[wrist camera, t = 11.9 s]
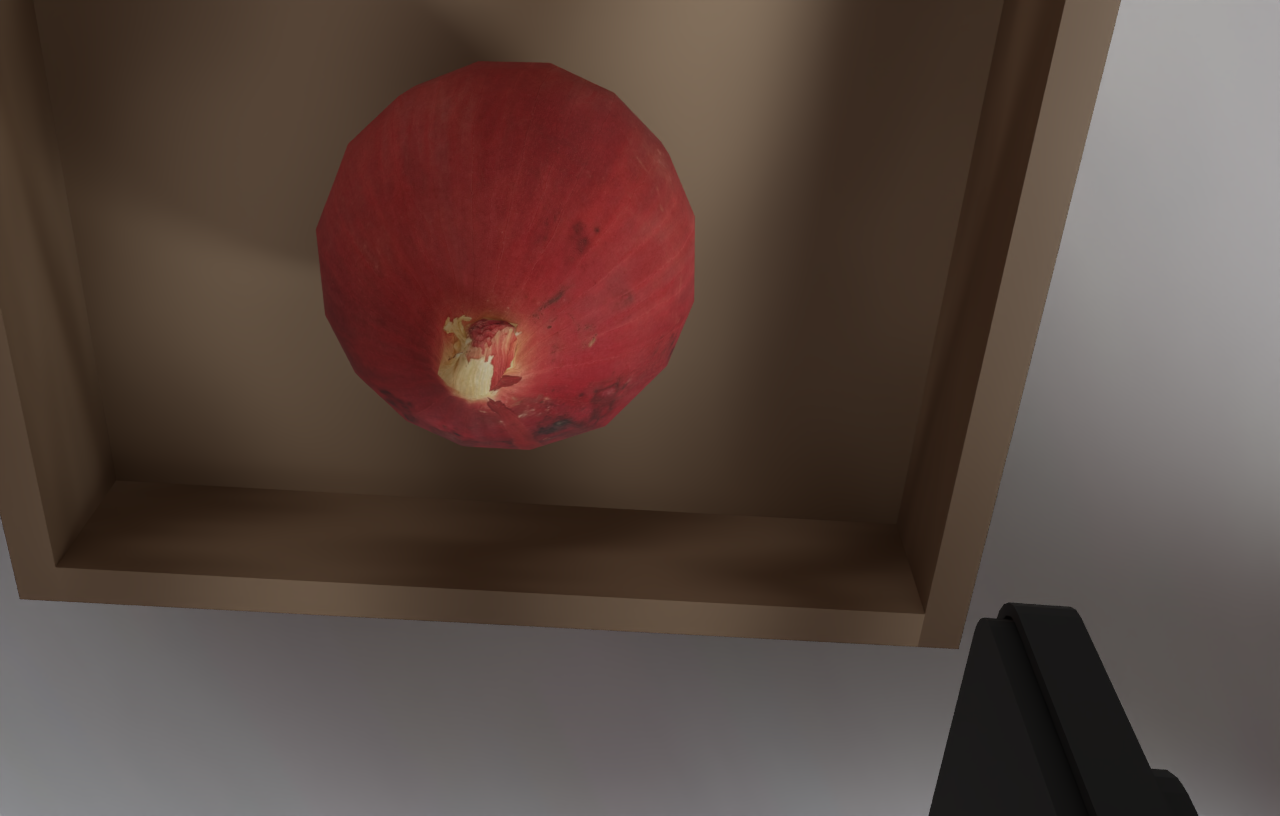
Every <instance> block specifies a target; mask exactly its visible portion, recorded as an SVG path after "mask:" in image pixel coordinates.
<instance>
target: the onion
mask: <svg viewBox="0 0 1280 816" xmlns="http://www.w3.org/2000/svg"><path fill="white" fill-rule="evenodd" d="M316 236H317V245H318V255H319V264H320V273H321V282H322V292H323V301H324V310H325V316H326V318H327V320H328V322H329V323H330V325H331V327H332V329H333V331H334V333H335V335H336V337H337V339H338V341H339V343H340V345H341V347H342V348H343V350H344V352H345V354H346V356H347V358H348V360H349V362H350V364H351V366H352V368H353V370H354V372H355V373H356V374H357V375H358V376H359V377H360V378H361V379H362V380H363V381H364V382H365V383H366V384H367V385H368V386H369V387H370V388H372V389H373V390H374V391H375V392H376V393H377V394H378V395H379V396H380V397H381V398H382V399H383V400H384V401H386V402H387V403H388V404H389V405H390V406H391V407H392V408H393V409H394V410H395V411H396V412H397V413H398V414H400V415H401V416H402V417H403V418H404V419H405V420H406V421H408V422H410V423H412V424H414V425H417V426H419V427H421V428H423V429H426V430H428V431H430V432H432V433H434V434H437V435H439V436H441V437H443V438H445V439H448V440H450V441H452V442H454V443H457V444H459V445H461V446H467V447H485V448H504V449H522V450H531V449H534V448H537V447H541V446H544V445H547V444H550V443H553V442H557V441H560V440H563V439H566V438H569V437H572V436H576V435H579V434H582V433H585V432H588V431H592V430H595V429H598V428H601V427H604V426H606V425H607V424H608V423H609V422H610V421H611V420H612V419H613V418H614V417H615V416H616V415H617V414H618V413H619V412H620V411H621V410H622V409H623V408H624V407H625V406H626V405H628V404H629V403H630V402H631V401H632V400H633V399H634V398H635V397H636V396H637V395H638V394H639V393H640V392H641V391H642V390H643V389H644V388H645V387H646V386H647V385H648V384H649V383H650V382H651V381H652V380H653V379H654V378H655V377H656V376H657V375H658V374H659V373H660V372H661V371H662V370H663V369H664V368H665V367H666V366H667V364H668V362H669V360H670V357H671V355H672V353H673V350H674V348H675V345H676V343H677V341H678V338H679V336H680V334H681V331H682V329H683V327H684V324H685V322H686V319H687V317H688V315H689V312H690V310H691V308H692V305H693V303H694V274H695V215H694V213H693V210H692V208H691V206H690V203H689V201H688V199H687V196H686V194H685V191H684V189H683V187H682V184H681V182H680V179H679V177H678V175H677V172H676V170H675V167H674V165H673V163H672V160H671V158H670V155H669V153H668V152H667V150H666V149H665V147H664V145H663V144H662V142H661V141H660V140H659V139H658V138H657V137H656V136H655V135H654V134H653V133H652V132H651V131H650V130H649V128H648V127H647V126H646V125H645V124H644V123H643V122H642V121H641V120H640V119H639V118H638V117H637V116H636V115H635V114H634V113H633V112H632V111H631V110H630V109H629V108H628V107H627V105H626V104H625V103H624V102H623V101H622V100H621V99H620V98H619V97H618V96H617V95H616V94H615V93H614V92H612V91H609V90H607V89H605V88H603V87H601V86H599V85H597V84H594V83H592V82H590V81H588V80H586V79H584V78H582V77H579V76H577V75H575V74H573V73H571V72H569V71H567V70H565V69H562V68H560V67H558V66H556V65H554V64H552V63H542V62H493V61H478V62H475V63H472V64H470V65H467V66H465V67H462V68H460V69H457V70H454V71H452V72H449V73H447V74H444V75H441V76H439V77H436V78H434V79H431V80H429V81H426V82H423V83H421V84H418V85H416V86H414V87H412V88H411V89H409V90H407V91H406V92H404V93H403V94H401V95H399V96H398V97H397V98H396V99H395V100H394V101H393V102H392V103H391V104H390V105H388V106H387V107H386V108H385V109H384V110H383V111H382V112H381V113H380V114H379V115H378V116H377V117H376V118H375V119H374V120H373V121H372V122H371V123H369V124H368V125H367V126H366V127H365V128H364V129H363V130H362V131H361V132H360V133H359V134H358V135H357V136H356V137H355V138H354V139H353V140H352V141H351V142H349V143H348V145H347V148H346V150H345V153H344V156H343V159H342V161H341V164H340V167H339V169H338V172H337V175H336V177H335V180H334V183H333V185H332V188H331V191H330V193H329V196H328V199H327V201H326V204H325V206H324V209H323V212H322V214H321V217H320V220H319V222H318V225H317V227H316Z"/></svg>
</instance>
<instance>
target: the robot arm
mask: <svg viewBox="0 0 1280 816" xmlns="http://www.w3.org/2000/svg"><path fill="white" fill-rule="evenodd" d="M929 816H1198V814H1197V812H1196V809H1195V807H1194V805H1193V803H1192V801H1191V799H1190V797H1189V795H1188V793H1187V792H1186V790H1185V789H1184V787H1183V785H1182V784H1181V782H1180V781H1179V779H1178V778H1177V777H1176V776H1174V775H1173V774H1172V773H1170V772H1169V771H1168V770H1160V769H1151V768H1150V766H1149V764H1148V761H1147V759H1146V757H1145V755H1144V753H1143V751H1142V748H1141V746H1140V744H1139V742H1138V740H1137V738H1136V735H1135V733H1134V731H1133V729H1132V727H1131V725H1130V722H1129V720H1128V718H1127V716H1126V714H1125V712H1124V709H1123V707H1122V705H1121V703H1120V701H1119V699H1118V696H1117V694H1116V692H1115V690H1114V688H1113V686H1112V683H1111V681H1110V679H1109V677H1108V675H1107V673H1106V670H1105V668H1104V666H1103V664H1102V662H1101V660H1100V657H1099V655H1098V653H1097V651H1096V649H1095V647H1094V644H1093V642H1092V640H1091V638H1090V636H1089V634H1088V631H1087V629H1086V627H1085V625H1084V623H1083V621H1082V618H1081V617H1080V615H1079V614H1078V612H1077V611H1076V610H1075V609H1073V608H1071V607H1064V606H1050V605H1036V604H1022V603H1006V604H1004V605H1003V607H1002V608H1001V610H1000V611H999V614H998V617H997V619H994V618H982V619H980V620H979V622H978V623H977V626H976V629H975V632H974V636H973V640H972V644H971V648H970V652H969V656H968V660H967V664H966V668H965V672H964V676H963V680H962V684H961V688H960V692H959V696H958V700H957V704H956V708H955V712H954V716H953V720H952V724H951V728H950V732H949V736H948V740H947V744H946V748H945V752H944V756H943V760H942V764H941V768H940V772H939V776H938V780H937V784H936V788H935V792H934V796H933V800H932V804H931V808H930V812H929Z"/></svg>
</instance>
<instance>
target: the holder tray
mask: <svg viewBox="0 0 1280 816" xmlns="http://www.w3.org/2000/svg"><path fill="white" fill-rule="evenodd" d="M1120 2H1121V0H0V515H1V520H2V524H3V528H4V533H5V537H6V541H7V546H8V550H9V554H10V559H11V563H12V567H13V571H14V576H15V580H16V584H17V589H18V593H19V597H20V599H28V600H46V601H65V602H84V603H103V604H122V605H140V606H159V607H178V608H197V609H216V610H235V611H253V612H272V613H291V614H310V615H329V616H347V617H366V618H385V619H404V620H423V621H441V622H460V623H479V624H498V625H517V626H536V627H554V628H573V629H592V630H611V631H630V632H648V633H667V634H686V635H705V636H724V637H743V638H761V639H780V640H799V641H818V642H837V643H855V644H874V645H893V646H912V647H931V648H949V649H959V645H960V641H961V637H962V633H963V629H964V625H965V621H966V617H967V613H968V609H969V605H970V601H971V597H972V593H973V589H974V585H975V581H976V577H977V573H978V569H979V565H980V561H981V557H982V553H983V549H984V545H985V541H986V537H987V533H988V529H989V525H990V521H991V517H992V513H993V509H994V505H995V501H996V497H997V493H998V489H999V485H1000V481H1001V477H1002V473H1003V469H1004V465H1005V461H1006V457H1007V453H1008V449H1009V445H1010V441H1011V437H1012V433H1013V429H1014V425H1015V421H1016V417H1017V413H1018V409H1019V405H1020V401H1021V397H1022V393H1023V389H1024V385H1025V381H1026V377H1027V373H1028V370H1029V366H1030V362H1031V358H1032V354H1033V350H1034V346H1035V342H1036V338H1037V334H1038V330H1039V326H1040V322H1041V318H1042V314H1043V310H1044V306H1045V302H1046V298H1047V294H1048V290H1049V286H1050V282H1051V278H1052V274H1053V270H1054V266H1055V262H1056V258H1057V254H1058V250H1059V246H1060V242H1061V238H1062V234H1063V230H1064V226H1065V222H1066V218H1067V214H1068V210H1069V206H1070V202H1071V198H1072V194H1073V190H1074V186H1075V182H1076V178H1077V174H1078V170H1079V166H1080V162H1081V158H1082V154H1083V150H1084V146H1085V142H1086V138H1087V134H1088V130H1089V126H1090V122H1091V118H1092V114H1093V110H1094V106H1095V102H1096V98H1097V94H1098V90H1099V86H1100V82H1101V78H1102V74H1103V70H1104V66H1105V62H1106V58H1107V54H1108V50H1109V46H1110V42H1111V38H1112V34H1113V30H1114V26H1115V22H1116V18H1117V14H1118V10H1119V6H1120ZM478 61H493V62H542V63H552V64H554V65H556V66H558V67H560V68H562V69H565V70H567V71H569V72H571V73H573V74H575V75H577V76H579V77H582V78H584V79H586V80H588V81H590V82H592V83H594V84H597V85H599V86H601V87H603V88H605V89H607V90H609V91H612V92H614V93H615V94H616V95H617V96H618V97H619V98H620V99H621V100H622V101H623V102H624V103H625V104H626V105H627V107H628V108H629V109H630V110H631V111H632V112H633V113H634V114H635V115H636V116H637V117H638V118H639V119H640V120H641V121H642V122H643V123H644V124H645V125H646V126H647V127H648V128H649V130H650V131H651V132H652V133H653V134H654V135H655V136H656V137H657V138H658V139H659V140H660V141H661V142H662V144H663V145H664V147H665V149H666V150H667V152H668V153H669V155H670V158H671V160H672V163H673V165H674V167H675V170H676V172H677V175H678V177H679V179H680V182H681V184H682V187H683V189H684V191H685V194H686V196H687V199H688V201H689V203H690V206H691V208H692V210H693V213H694V215H695V274H694V303H693V305H692V308H691V310H690V312H689V315H688V317H687V319H686V322H685V324H684V327H683V329H682V331H681V334H680V336H679V338H678V341H677V343H676V345H675V348H674V350H673V353H672V355H671V357H670V360H669V362H668V364H667V366H666V367H665V368H664V369H663V370H662V371H661V372H660V373H659V374H658V375H657V376H656V377H655V378H654V379H653V380H652V381H651V382H650V383H649V384H648V385H647V386H646V387H645V388H644V389H643V390H642V391H641V392H640V393H639V394H638V395H637V396H636V397H635V398H634V399H633V400H632V401H631V402H630V403H629V404H628V405H626V406H625V407H624V408H623V409H622V410H621V411H620V412H619V413H618V414H617V415H616V416H615V417H614V418H613V419H612V420H611V421H610V422H609V423H608V424H607V425H606V426H604V427H601V428H598V429H595V430H592V431H588V432H585V433H582V434H579V435H576V436H572V437H569V438H566V439H563V440H560V441H557V442H553V443H550V444H547V445H544V446H541V447H537V448H534V449H531V450H522V449H504V448H485V447H467V446H461V445H459V444H457V443H454V442H452V441H450V440H448V439H445V438H443V437H441V436H439V435H437V434H434V433H432V432H430V431H428V430H426V429H423V428H421V427H419V426H417V425H414V424H412V423H410V422H408V421H406V420H405V419H404V418H403V417H402V416H401V415H400V414H398V413H397V412H396V411H395V410H394V409H393V408H392V407H391V406H390V405H389V404H388V403H387V402H386V401H384V400H383V399H382V398H381V397H380V396H379V395H378V394H377V393H376V392H375V391H374V390H373V389H372V388H370V387H369V386H368V385H367V384H366V383H365V382H364V381H363V380H362V379H361V378H360V377H359V376H358V375H357V374H356V373H355V372H354V370H353V368H352V366H351V364H350V362H349V360H348V358H347V356H346V354H345V352H344V350H343V348H342V347H341V345H340V343H339V341H338V339H337V337H336V335H335V333H334V331H333V329H332V327H331V325H330V323H329V322H328V320H327V318H326V316H325V310H324V301H323V292H322V282H321V273H320V264H319V255H318V245H317V236H316V227H317V225H318V222H319V220H320V217H321V214H322V212H323V209H324V206H325V204H326V201H327V199H328V196H329V193H330V191H331V188H332V185H333V183H334V180H335V177H336V175H337V172H338V169H339V167H340V164H341V161H342V159H343V156H344V153H345V150H346V148H347V145H348V143H349V142H351V141H352V140H353V139H354V138H355V137H356V136H357V135H358V134H359V133H360V132H361V131H362V130H363V129H364V128H365V127H366V126H367V125H368V124H369V123H371V122H372V121H373V120H374V119H375V118H376V117H377V116H378V115H379V114H380V113H381V112H382V111H383V110H384V109H385V108H386V107H387V106H388V105H390V104H391V103H392V102H393V101H394V100H395V99H396V98H397V97H398V96H399V95H401V94H403V93H404V92H406V91H407V90H409V89H411V88H412V87H414V86H416V85H418V84H421V83H423V82H426V81H429V80H431V79H434V78H436V77H439V76H441V75H444V74H447V73H449V72H452V71H454V70H457V69H460V68H462V67H465V66H467V65H470V64H472V63H475V62H478Z"/></svg>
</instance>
